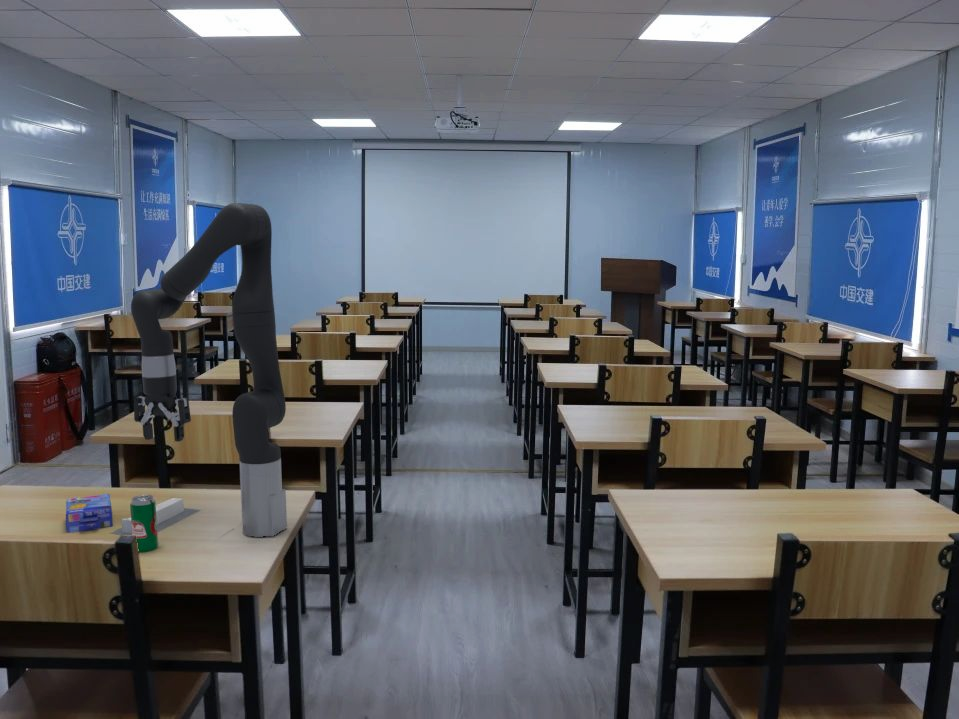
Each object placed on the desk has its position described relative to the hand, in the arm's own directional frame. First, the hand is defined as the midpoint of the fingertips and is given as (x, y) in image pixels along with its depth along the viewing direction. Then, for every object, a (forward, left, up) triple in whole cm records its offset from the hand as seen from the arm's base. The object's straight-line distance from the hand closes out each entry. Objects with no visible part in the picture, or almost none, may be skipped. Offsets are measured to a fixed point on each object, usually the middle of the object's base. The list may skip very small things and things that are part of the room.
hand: (163, 440), depth 192 cm
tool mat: (0, +4, -20) cm, 20 cm away
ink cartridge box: (+20, +4, -17) cm, 26 cm away
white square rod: (0, +4, -19) cm, 19 cm away
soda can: (-9, +19, -20) cm, 29 cm away
